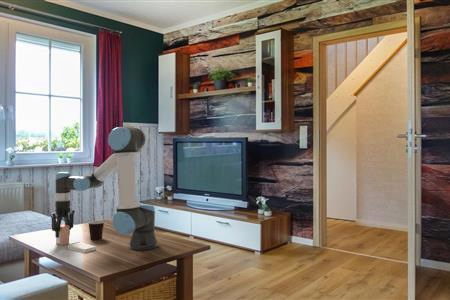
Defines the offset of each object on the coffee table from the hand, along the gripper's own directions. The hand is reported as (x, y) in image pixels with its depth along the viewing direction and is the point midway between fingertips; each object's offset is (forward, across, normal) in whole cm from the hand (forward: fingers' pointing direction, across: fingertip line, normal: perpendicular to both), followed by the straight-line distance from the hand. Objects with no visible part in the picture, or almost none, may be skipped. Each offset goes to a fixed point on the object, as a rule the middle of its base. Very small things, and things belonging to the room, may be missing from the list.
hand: (62, 242), depth 204 cm
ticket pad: (+1, 0, +17) cm, 17 cm away
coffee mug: (+1, -19, +5) cm, 20 cm away
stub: (+1, 0, 0) cm, 1 cm away
